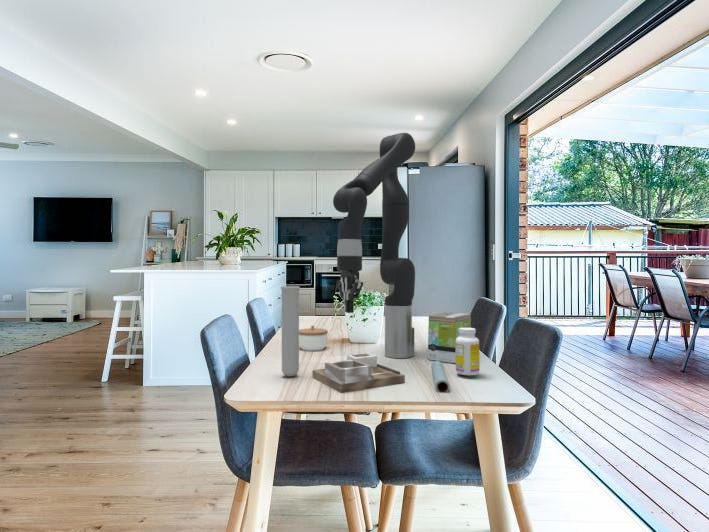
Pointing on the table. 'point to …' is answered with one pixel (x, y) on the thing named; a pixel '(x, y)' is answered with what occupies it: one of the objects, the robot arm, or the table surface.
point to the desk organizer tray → (356, 375)
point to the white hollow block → (364, 358)
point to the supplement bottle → (467, 352)
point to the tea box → (445, 335)
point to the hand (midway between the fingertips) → (349, 312)
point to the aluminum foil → (440, 377)
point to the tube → (290, 330)
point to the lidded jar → (312, 339)
